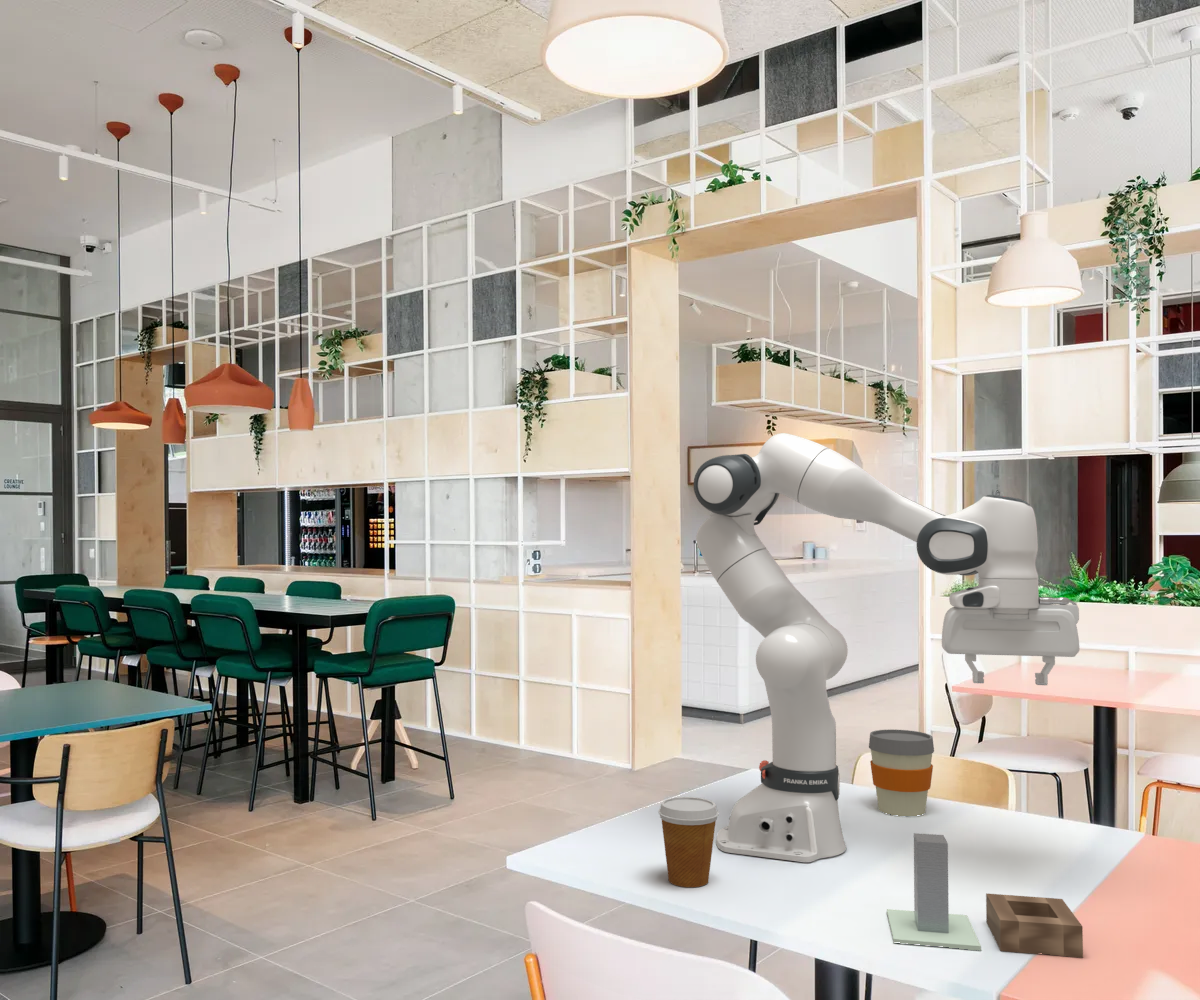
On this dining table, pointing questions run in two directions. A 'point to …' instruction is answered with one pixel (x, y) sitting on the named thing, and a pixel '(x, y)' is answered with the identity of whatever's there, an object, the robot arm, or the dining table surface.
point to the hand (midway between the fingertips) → (1009, 683)
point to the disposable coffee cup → (688, 839)
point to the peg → (931, 883)
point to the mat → (957, 937)
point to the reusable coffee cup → (901, 770)
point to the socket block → (1034, 925)
